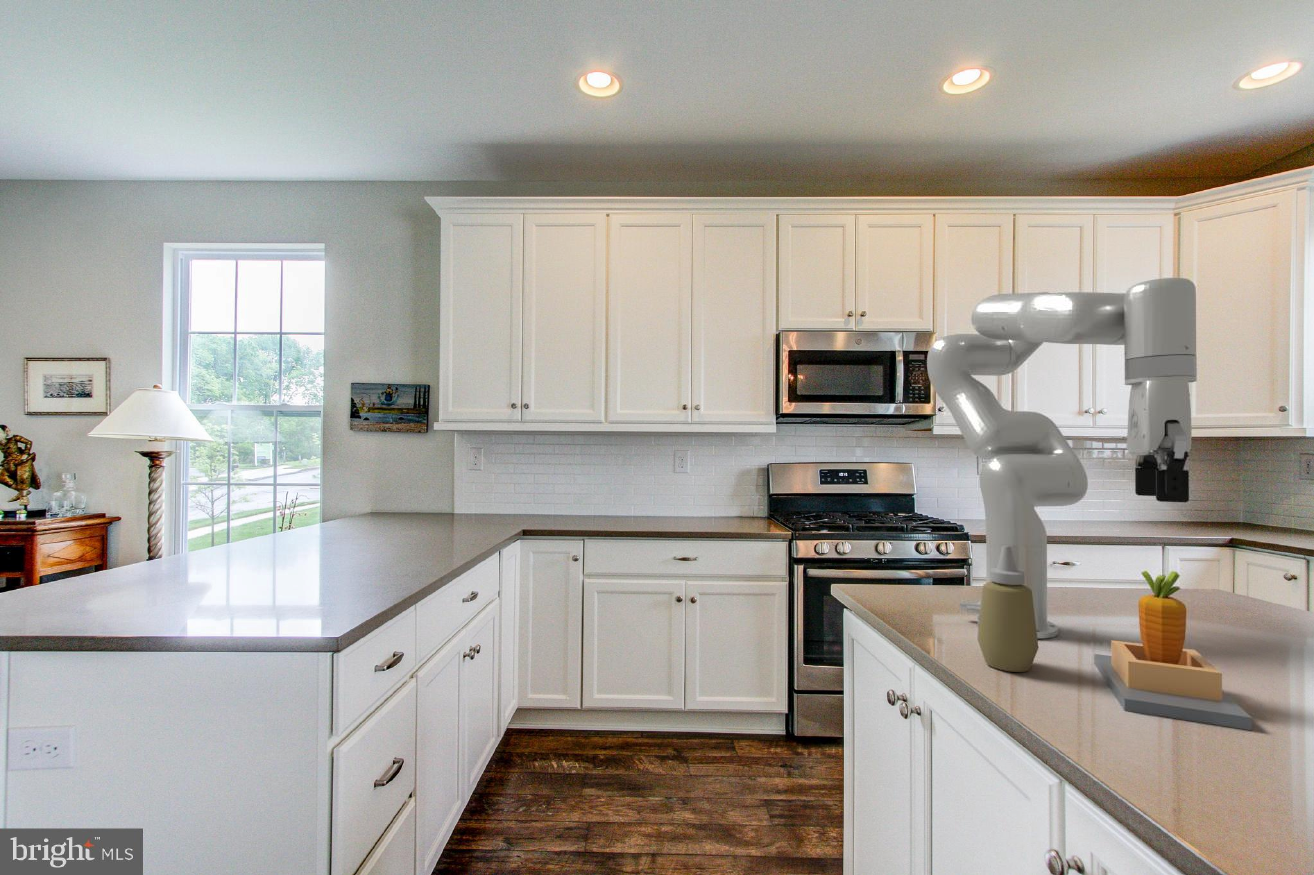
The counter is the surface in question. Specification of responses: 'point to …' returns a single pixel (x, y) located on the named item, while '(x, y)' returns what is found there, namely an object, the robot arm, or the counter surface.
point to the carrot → (1162, 620)
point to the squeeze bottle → (1007, 618)
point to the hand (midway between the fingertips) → (1160, 498)
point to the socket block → (1169, 686)
